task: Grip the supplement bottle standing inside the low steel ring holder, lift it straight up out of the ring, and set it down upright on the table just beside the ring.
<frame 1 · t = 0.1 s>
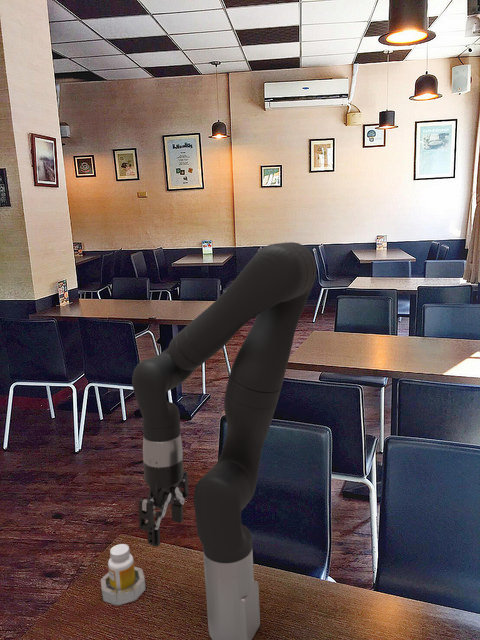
hand: (166, 532, 102), 17 cm above the table, tool pointing down, fingers open, 8 cm apart
supplement bottle: (123, 590, 111), resting in ring holder
ring holder: (123, 589, 111), on the table
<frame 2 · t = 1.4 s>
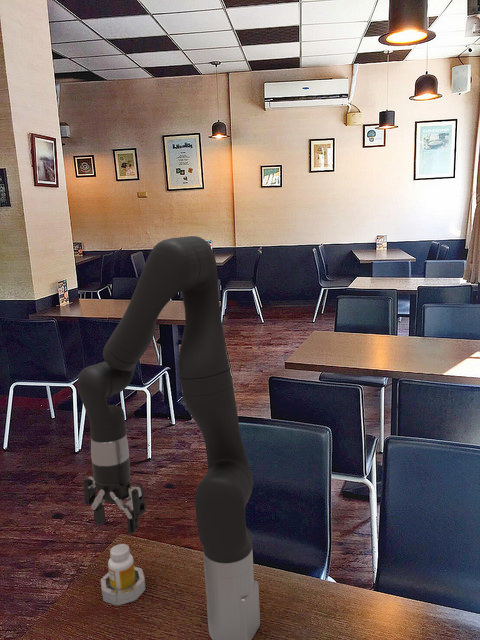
hand: (116, 527, 109), 15 cm above the table, tool pointing down, fingers open, 8 cm apart
nothing on the table moved.
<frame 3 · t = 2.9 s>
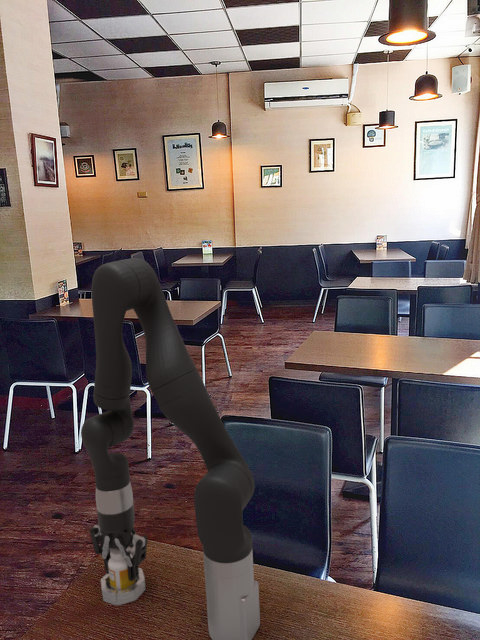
hand: (122, 575, 111), 4 cm above the table, tool pointing down, fingers closed on supplement bottle, 5 cm apart
supplement bottle: (123, 590, 111), resting in ring holder, touching gripper
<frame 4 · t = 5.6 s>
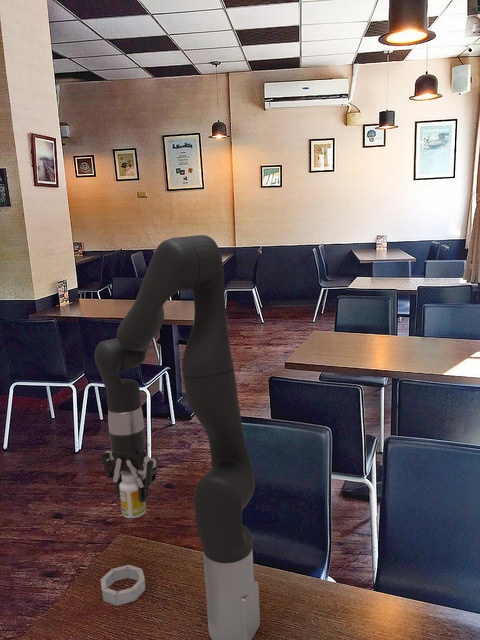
hand: (132, 497, 115), 18 cm above the table, tool pointing down, fingers closed on supplement bottle, 5 cm apart
supplement bottle: (134, 513, 116), point 14 cm above the table, touching gripper
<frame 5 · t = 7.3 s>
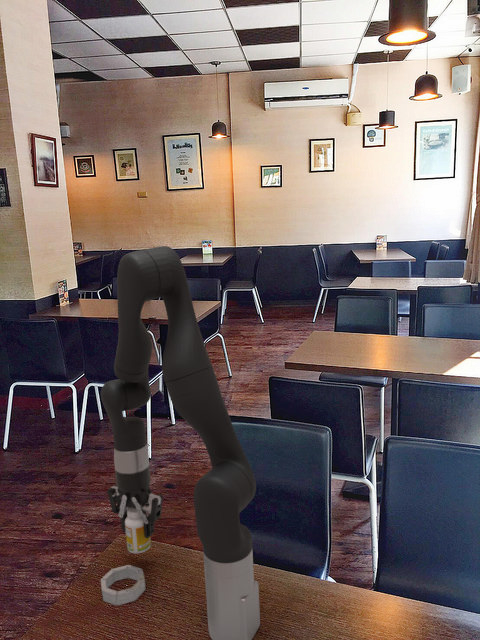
hand: (137, 533, 117), 9 cm above the table, tool pointing down, fingers closed on supplement bottle, 5 cm apart
supplement bottle: (139, 547, 118), point 5 cm above the table, touching gripper
when the fingers open (5 cm above the table, at t = 8.5 s): supplement bottle drops 1 cm, on the table.
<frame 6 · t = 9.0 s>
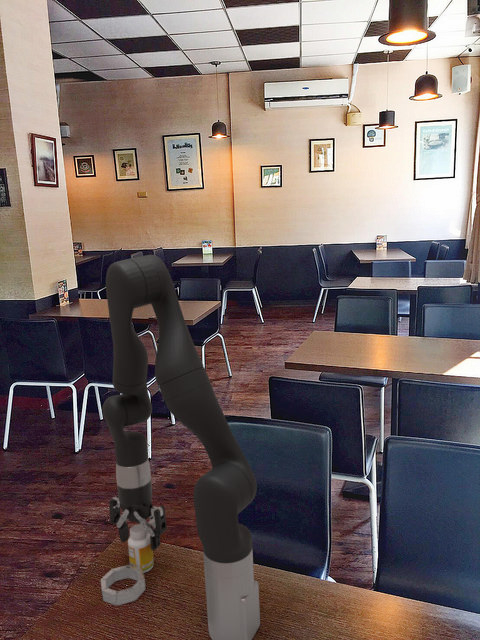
hand: (139, 544, 118), 6 cm above the table, tool pointing down, fingers open, 8 cm apart
supplement bottle: (142, 567, 119), on the table
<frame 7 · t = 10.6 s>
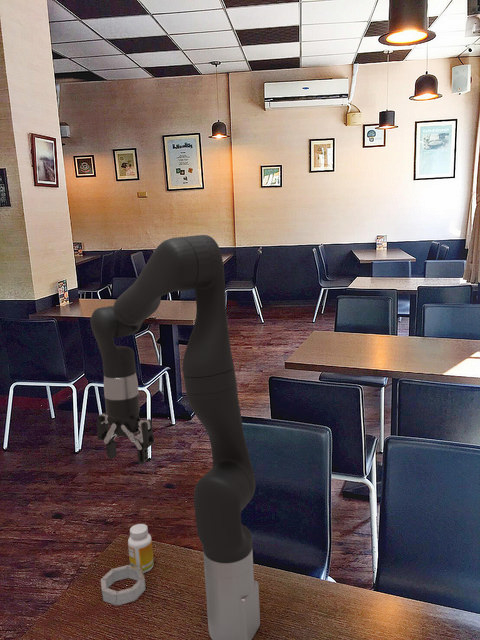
hand: (127, 460, 118), 25 cm above the table, tool pointing down, fingers open, 8 cm apart
nothing on the table moved.
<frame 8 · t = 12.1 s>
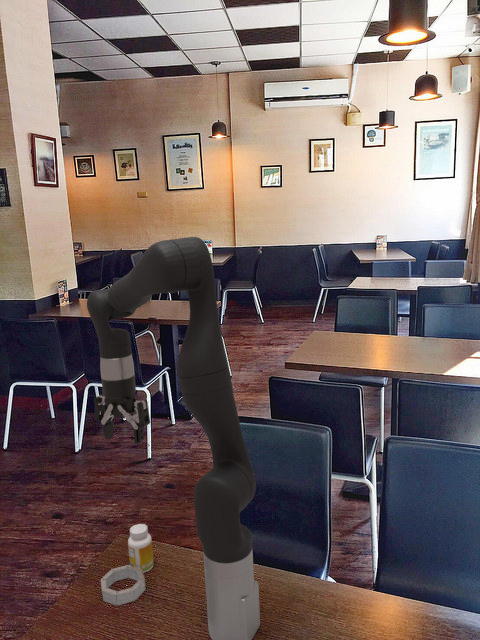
hand: (124, 440, 121), 28 cm above the table, tool pointing down, fingers open, 8 cm apart
nothing on the table moved.
at the end: supplement bottle inside the target area (0.6 cm from its centre), on the table; supplement bottle tilted 0°; the gripper is holding nothing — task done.
